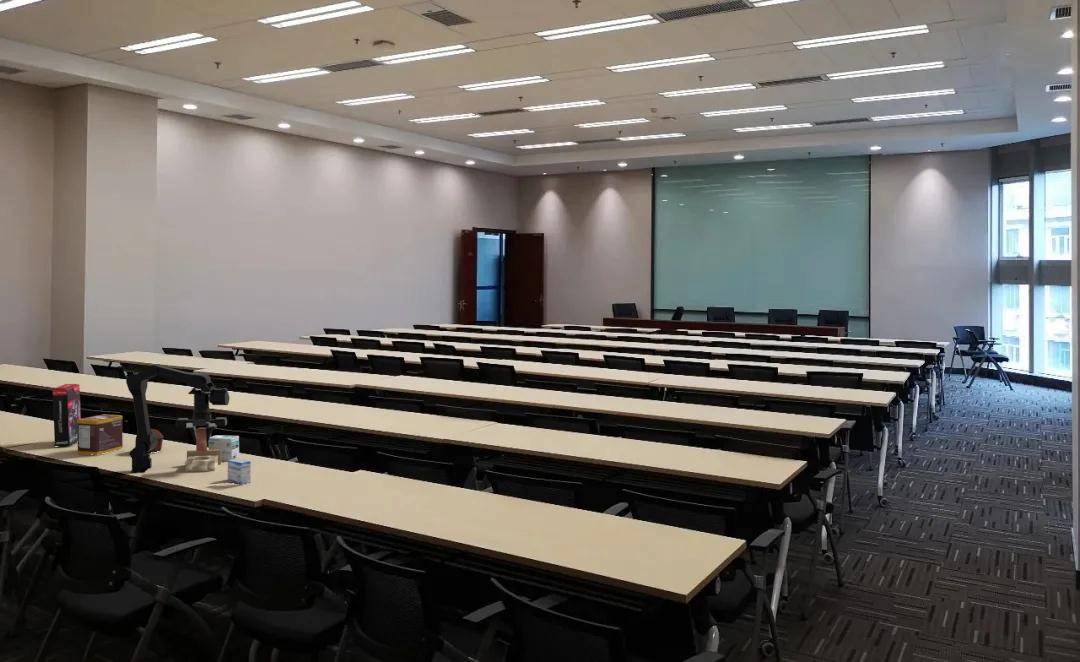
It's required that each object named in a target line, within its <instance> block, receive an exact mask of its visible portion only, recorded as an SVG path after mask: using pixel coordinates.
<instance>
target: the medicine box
mask: <svg viewBox="0 0 1080 662" xmlns="http://www.w3.org/2000/svg"><path fill="white" fill-rule="evenodd" d="M251 463H252V462H251V461H250V460H245V459H244V460H243V459H240V458H239V459H233V460H229V461H227V481H230V482H229V483H228V484H232V483H234V484H233V485H238V484H239V486H244V485H243V484H245V485H248V484H247V483H249V484H251V481H252V480H251V476H252V475H251V471H252V470H251Z"/></svg>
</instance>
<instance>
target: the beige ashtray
mask: <svg viewBox="0 0 1080 662" xmlns="http://www.w3.org/2000/svg"><path fill="white" fill-rule="evenodd" d="M217 467H218V455H204V456H189V457H188V459H187V458H186V460H185V461H184V472H185V473H187V472H211V471H215V470H216V469H217Z"/></svg>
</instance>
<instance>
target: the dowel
mask: <svg viewBox="0 0 1080 662" xmlns="http://www.w3.org/2000/svg"><path fill="white" fill-rule="evenodd" d="M207 433H208V427H198V428H196V444H195V450H196V451H197V452H203V451H207V450H208V443H207Z"/></svg>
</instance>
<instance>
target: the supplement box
mask: <svg viewBox="0 0 1080 662" xmlns="http://www.w3.org/2000/svg"><path fill="white" fill-rule="evenodd" d="M77 434H78V442H77V454H78V453H79V454H78V455H82V454H93V455H92V456H94V455H98V454H102V453H106V452H110V451H114V450H118V449H121V448H123V447H124V446H123V434H124V433H123V415H119V414H105V413H103V414H99V415H93V416H89V417H83V418H82V417H81V419H78V420H77ZM123 449H124V448H123ZM118 451H119V450H118ZM114 452H115V451H114ZM110 453H111V452H110ZM106 454H107V453H106ZM102 455H103V454H102ZM98 456H99V455H98Z"/></svg>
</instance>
